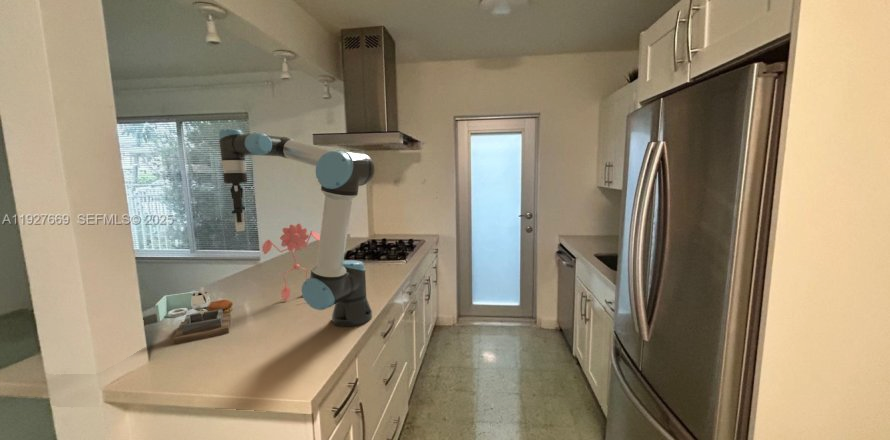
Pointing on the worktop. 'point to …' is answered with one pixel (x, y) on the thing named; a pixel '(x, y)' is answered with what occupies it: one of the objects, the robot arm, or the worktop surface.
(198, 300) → the wineglass
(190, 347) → the worktop surface
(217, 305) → the burger
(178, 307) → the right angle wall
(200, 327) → the socket base
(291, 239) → the figurine
